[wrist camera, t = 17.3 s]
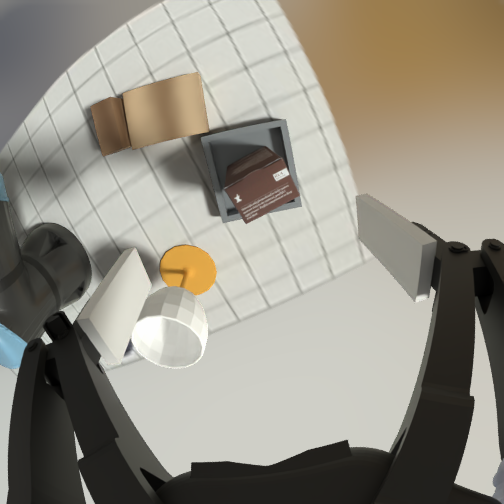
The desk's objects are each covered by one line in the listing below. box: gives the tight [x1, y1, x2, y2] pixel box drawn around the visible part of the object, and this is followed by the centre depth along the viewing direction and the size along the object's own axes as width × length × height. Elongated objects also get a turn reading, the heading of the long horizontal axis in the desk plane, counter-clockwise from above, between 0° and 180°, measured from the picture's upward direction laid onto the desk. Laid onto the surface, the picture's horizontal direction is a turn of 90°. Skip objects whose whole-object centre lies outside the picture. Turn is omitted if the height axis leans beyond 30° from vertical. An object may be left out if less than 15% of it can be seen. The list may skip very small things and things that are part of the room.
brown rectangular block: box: [91, 97, 132, 156], centre depth 29 cm, size 3×7×5 cm, turn 12°
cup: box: [131, 245, 217, 368], centre depth 35 cm, size 9×9×16 cm
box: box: [224, 146, 300, 224], centre depth 30 cm, size 6×4×12 cm
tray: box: [201, 119, 302, 223], centre depth 34 cm, size 11×12×2 cm
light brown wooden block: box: [123, 72, 210, 150], centre depth 30 cm, size 10×8×3 cm
